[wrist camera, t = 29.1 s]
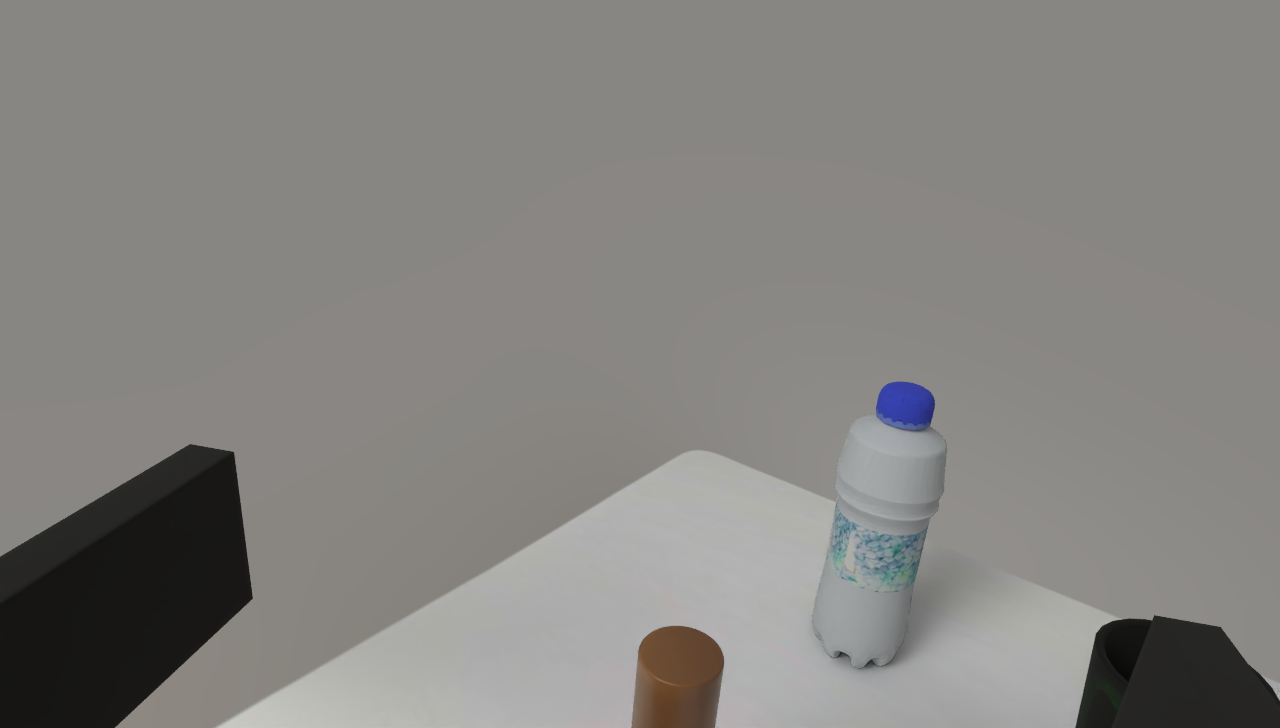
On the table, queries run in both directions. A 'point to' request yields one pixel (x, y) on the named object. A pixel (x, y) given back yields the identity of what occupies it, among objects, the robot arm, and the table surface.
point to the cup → (1116, 671)
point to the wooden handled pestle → (677, 679)
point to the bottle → (880, 526)
